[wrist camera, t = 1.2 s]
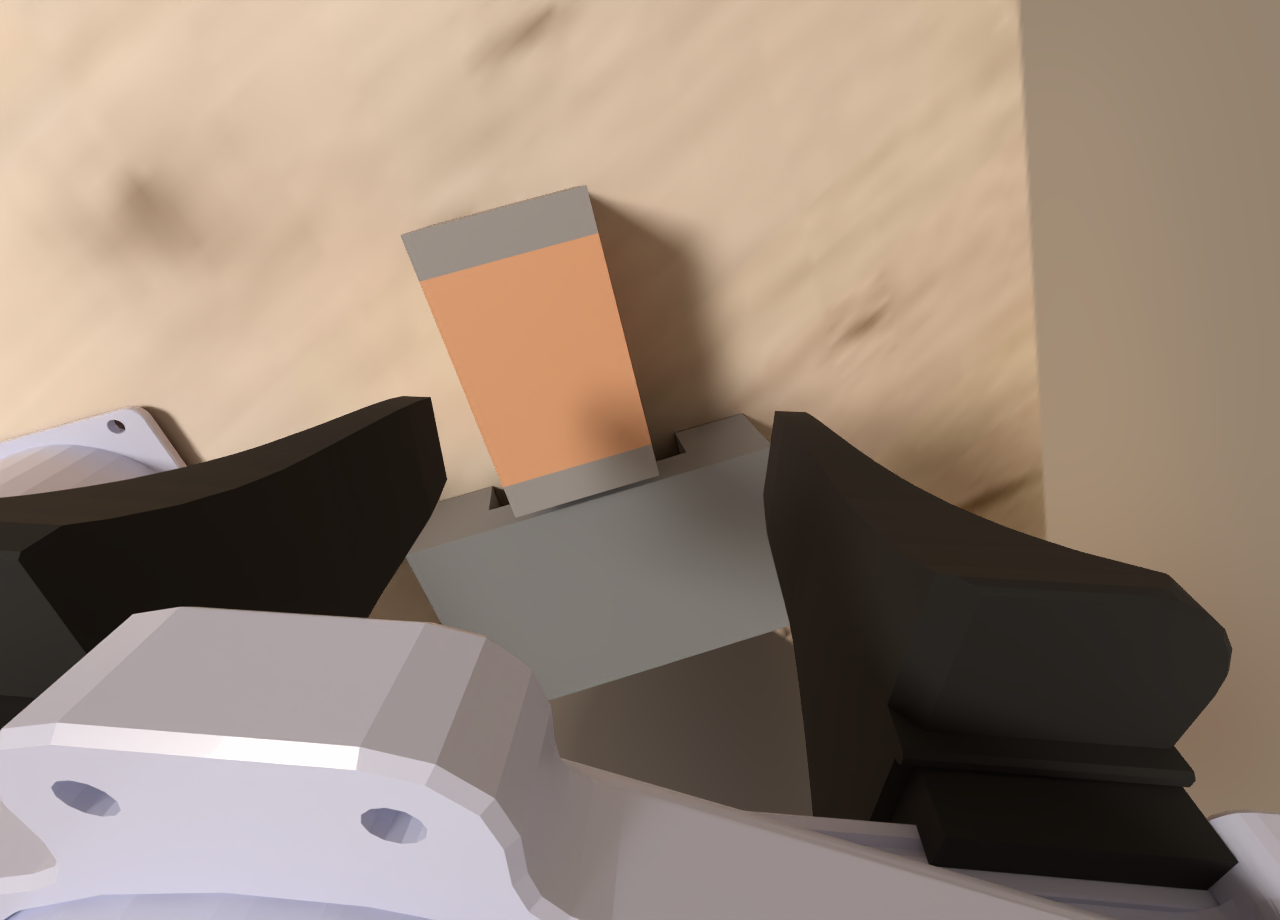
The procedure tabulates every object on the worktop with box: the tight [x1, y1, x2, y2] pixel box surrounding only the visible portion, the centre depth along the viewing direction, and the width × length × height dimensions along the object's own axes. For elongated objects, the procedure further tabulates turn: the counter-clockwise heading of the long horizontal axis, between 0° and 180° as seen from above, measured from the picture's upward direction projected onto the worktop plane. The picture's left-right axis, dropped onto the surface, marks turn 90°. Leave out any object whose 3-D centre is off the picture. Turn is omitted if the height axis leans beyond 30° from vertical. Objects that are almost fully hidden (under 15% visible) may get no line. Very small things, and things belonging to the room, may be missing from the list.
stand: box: [406, 414, 790, 701], centre depth 24 cm, size 14×9×4 cm, turn 103°
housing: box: [401, 185, 659, 518], centre depth 19 cm, size 9×5×5 cm, turn 13°
